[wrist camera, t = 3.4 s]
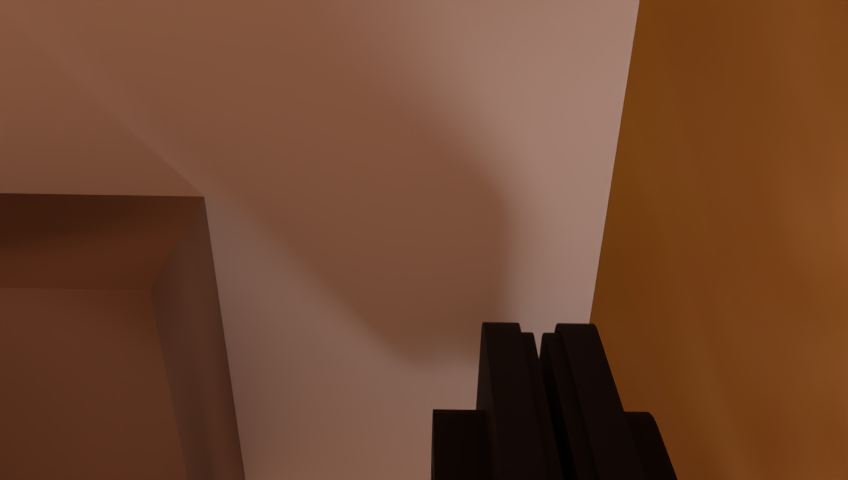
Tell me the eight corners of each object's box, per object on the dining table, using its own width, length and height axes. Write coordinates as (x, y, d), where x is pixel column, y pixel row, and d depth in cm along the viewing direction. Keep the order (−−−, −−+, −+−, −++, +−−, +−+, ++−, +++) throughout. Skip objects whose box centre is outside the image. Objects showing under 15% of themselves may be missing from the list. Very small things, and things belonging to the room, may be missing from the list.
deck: (599, -185, 12) (668, -183, 9) (519, 500, 20) (538, 644, 17) (-519, -206, 12) (-904, -213, 9) (-153, 490, 20) (-275, 632, 16)
